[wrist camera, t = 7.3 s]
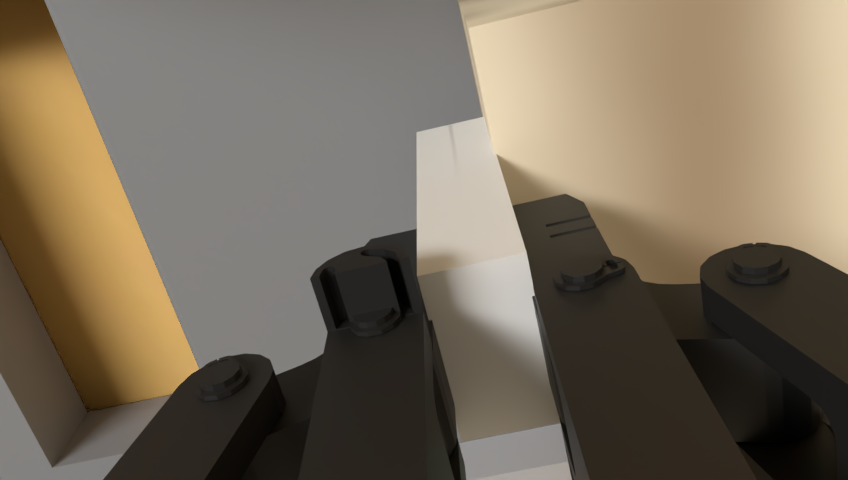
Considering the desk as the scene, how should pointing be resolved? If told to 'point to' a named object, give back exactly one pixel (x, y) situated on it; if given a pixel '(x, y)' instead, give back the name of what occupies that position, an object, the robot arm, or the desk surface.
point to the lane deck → (246, 191)
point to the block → (673, 120)
